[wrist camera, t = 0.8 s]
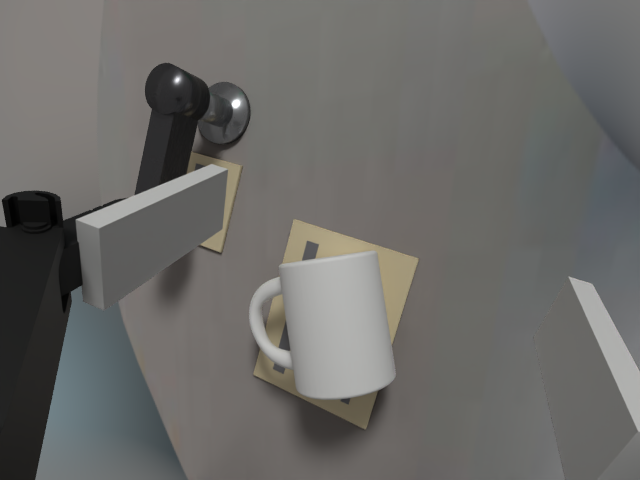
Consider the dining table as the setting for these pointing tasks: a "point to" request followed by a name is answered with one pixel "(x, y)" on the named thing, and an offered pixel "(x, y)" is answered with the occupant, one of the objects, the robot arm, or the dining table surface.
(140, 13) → the dining table surface
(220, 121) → the grey mushroom knob
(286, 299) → the mug
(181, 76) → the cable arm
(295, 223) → the label card
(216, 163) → the label card
